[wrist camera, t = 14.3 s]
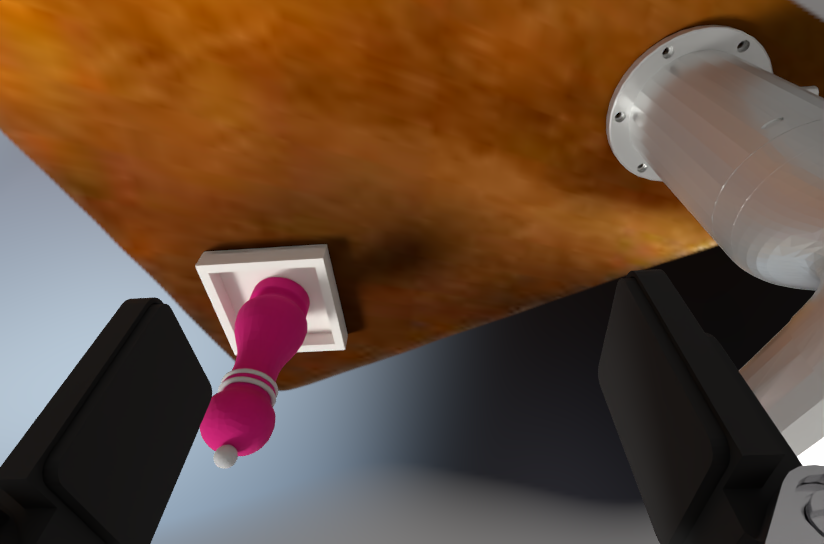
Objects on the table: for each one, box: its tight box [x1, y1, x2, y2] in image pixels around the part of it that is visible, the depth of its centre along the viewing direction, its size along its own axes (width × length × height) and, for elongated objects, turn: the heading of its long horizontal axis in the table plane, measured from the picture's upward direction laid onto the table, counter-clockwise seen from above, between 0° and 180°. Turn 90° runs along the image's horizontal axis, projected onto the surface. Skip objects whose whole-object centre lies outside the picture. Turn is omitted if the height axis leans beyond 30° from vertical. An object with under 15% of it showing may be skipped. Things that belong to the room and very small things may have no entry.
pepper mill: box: [200, 277, 310, 469], centre depth 45 cm, size 7×7×20 cm
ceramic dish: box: [195, 244, 348, 355], centre depth 53 cm, size 13×13×2 cm
